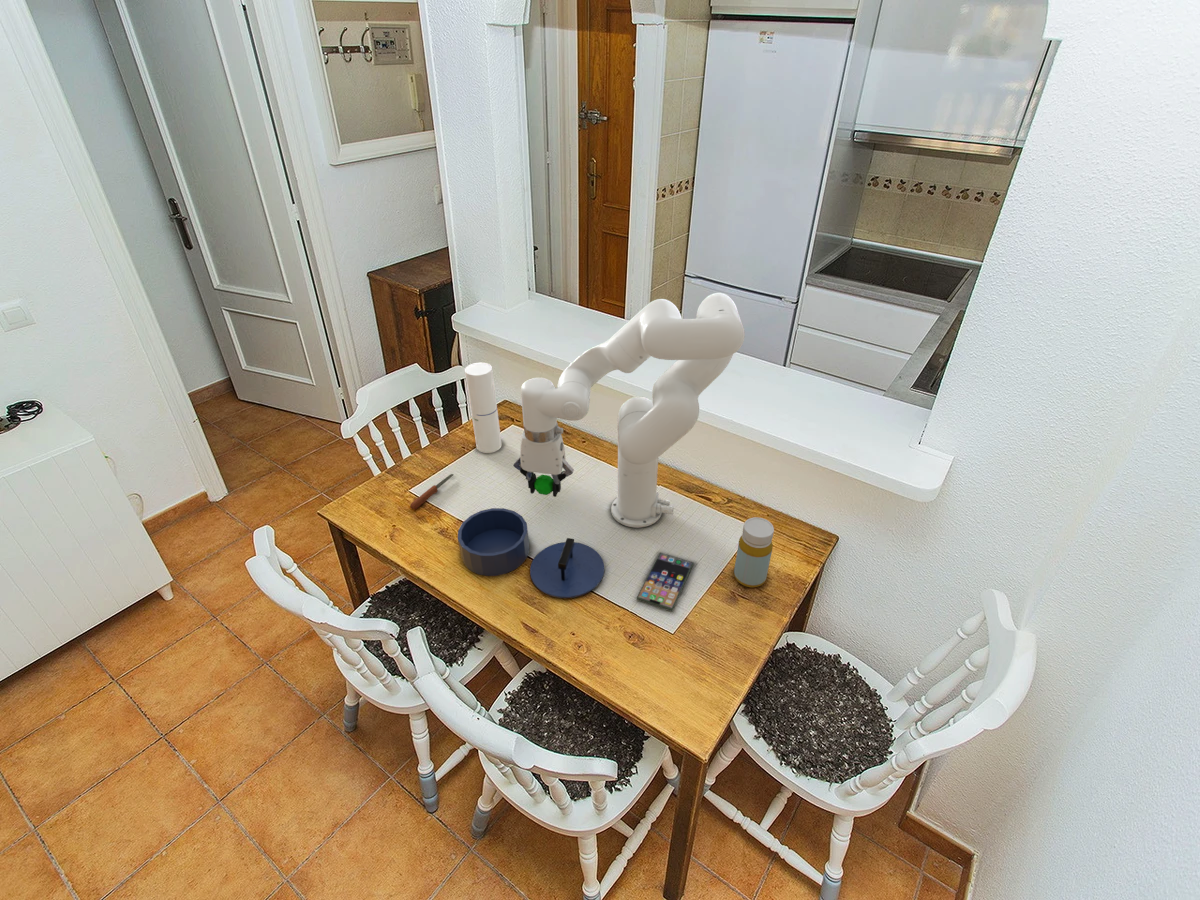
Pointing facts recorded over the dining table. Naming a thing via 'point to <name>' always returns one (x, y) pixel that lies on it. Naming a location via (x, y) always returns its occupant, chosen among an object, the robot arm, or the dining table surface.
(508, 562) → the pot
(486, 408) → the cylindrical container
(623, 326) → the robot arm
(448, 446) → the dining table surface
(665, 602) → the smartphone
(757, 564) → the bottle
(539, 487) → the polyhedron
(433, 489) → the kitchen knife
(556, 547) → the lid
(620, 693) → the dining table surface
